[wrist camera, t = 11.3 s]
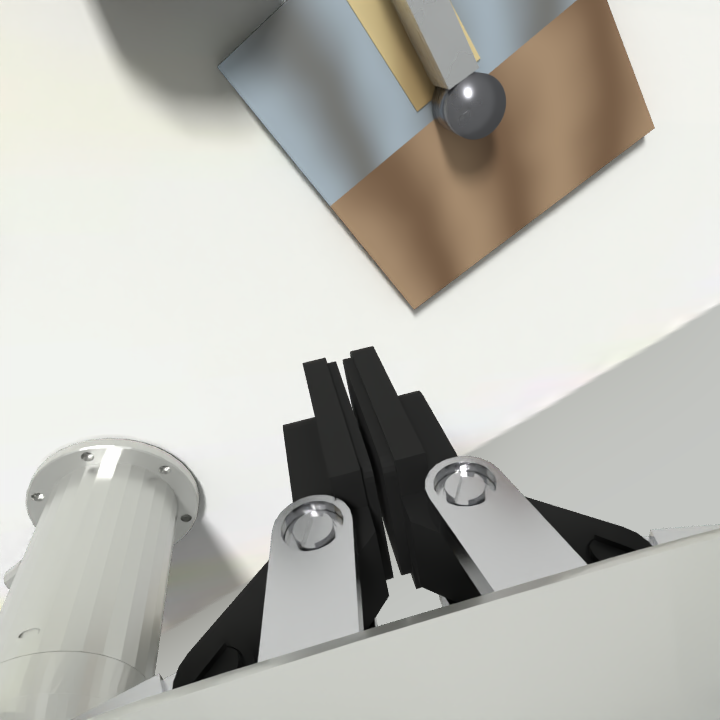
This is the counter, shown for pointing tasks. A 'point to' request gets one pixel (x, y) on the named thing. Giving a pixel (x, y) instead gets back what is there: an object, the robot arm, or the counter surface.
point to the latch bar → (452, 69)
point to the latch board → (425, 135)
